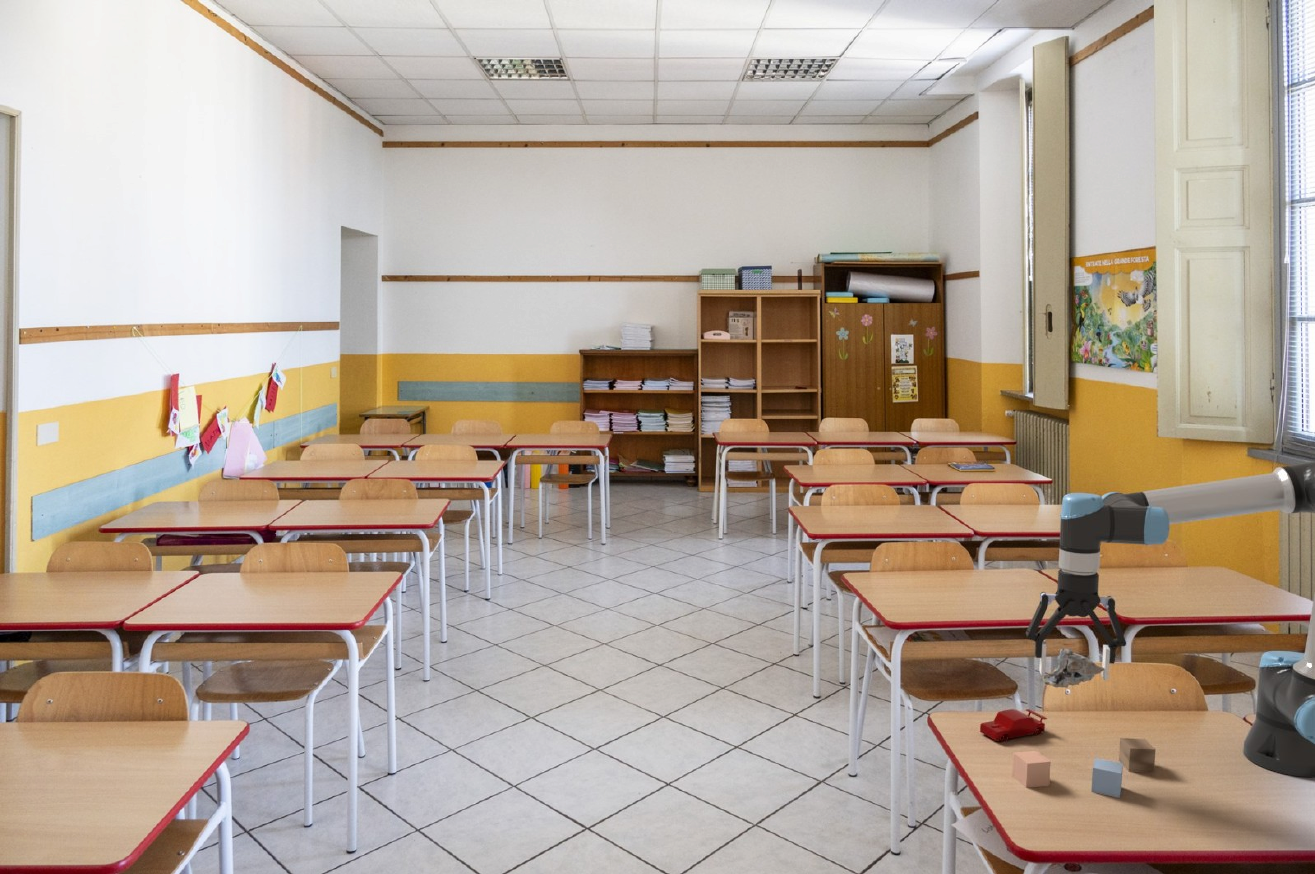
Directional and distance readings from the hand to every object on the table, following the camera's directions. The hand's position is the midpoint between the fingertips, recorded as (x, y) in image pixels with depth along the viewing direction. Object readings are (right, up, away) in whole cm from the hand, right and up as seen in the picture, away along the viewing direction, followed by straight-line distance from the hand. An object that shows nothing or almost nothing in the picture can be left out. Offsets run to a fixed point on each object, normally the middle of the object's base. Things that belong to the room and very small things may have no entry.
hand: (1073, 675), depth 197 cm
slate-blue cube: (+3, -21, -7) cm, 22 cm away
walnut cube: (+14, -20, +3) cm, 24 cm away
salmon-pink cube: (-10, -20, -4) cm, 23 cm away
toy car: (-6, -18, +18) cm, 26 cm away
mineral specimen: (0, -2, -1) cm, 2 cm away
